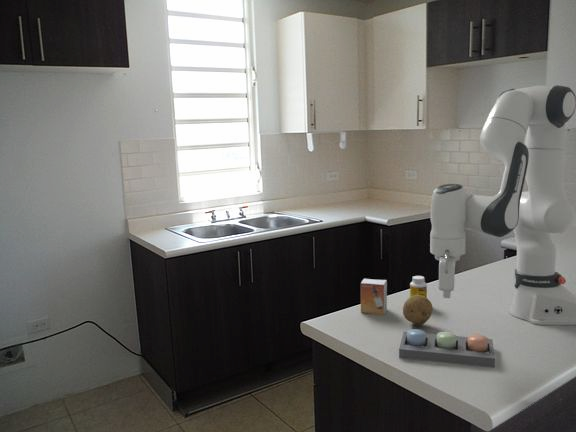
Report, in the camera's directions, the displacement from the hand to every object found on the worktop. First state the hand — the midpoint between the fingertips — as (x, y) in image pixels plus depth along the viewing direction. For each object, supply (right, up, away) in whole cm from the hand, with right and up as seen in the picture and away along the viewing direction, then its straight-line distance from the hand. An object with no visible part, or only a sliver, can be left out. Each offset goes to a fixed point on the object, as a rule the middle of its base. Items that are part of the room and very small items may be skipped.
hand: (446, 296), depth 135 cm
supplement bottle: (+2, -10, +39) cm, 40 cm away
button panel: (+1, -16, +3) cm, 16 cm away
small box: (-13, -11, +36) cm, 40 cm away
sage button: (+1, -14, +2) cm, 14 cm away
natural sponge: (-2, -13, +22) cm, 25 cm away
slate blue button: (-7, -14, +5) cm, 16 cm away
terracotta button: (+8, -14, 0) cm, 16 cm away
